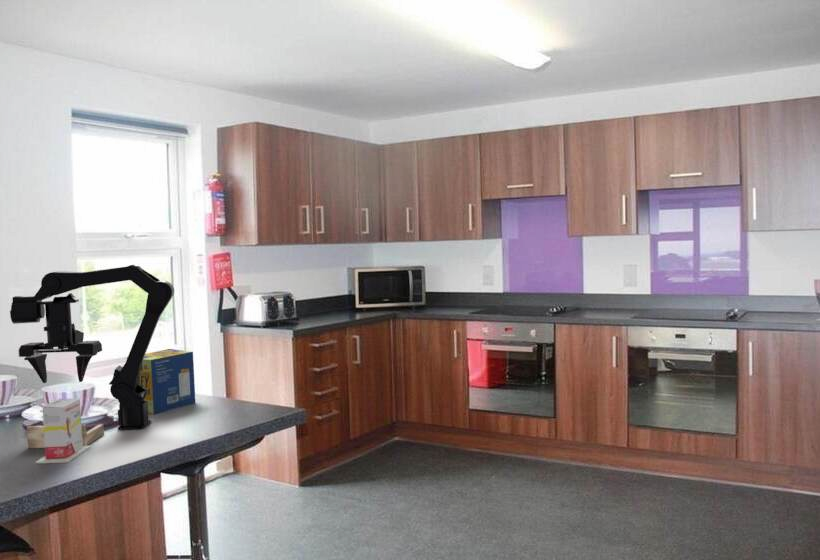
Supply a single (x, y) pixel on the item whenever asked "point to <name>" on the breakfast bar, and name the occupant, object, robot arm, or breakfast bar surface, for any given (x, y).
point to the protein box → (167, 379)
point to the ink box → (62, 428)
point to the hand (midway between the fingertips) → (63, 382)
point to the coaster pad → (64, 460)
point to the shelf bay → (37, 435)
